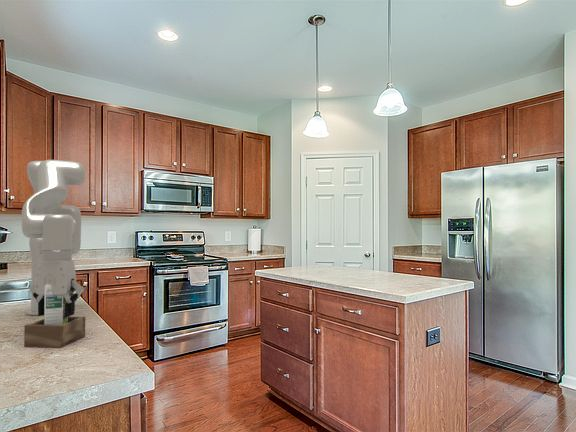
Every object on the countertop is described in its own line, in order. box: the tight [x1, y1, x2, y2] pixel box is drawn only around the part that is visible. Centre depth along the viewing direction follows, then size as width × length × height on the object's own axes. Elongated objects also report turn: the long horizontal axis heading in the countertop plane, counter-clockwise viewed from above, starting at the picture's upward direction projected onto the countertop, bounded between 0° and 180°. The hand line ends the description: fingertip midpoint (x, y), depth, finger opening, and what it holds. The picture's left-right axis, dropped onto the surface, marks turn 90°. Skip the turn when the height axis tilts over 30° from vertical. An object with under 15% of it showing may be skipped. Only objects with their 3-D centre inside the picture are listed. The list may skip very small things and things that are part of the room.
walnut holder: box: [23, 315, 86, 349], centre depth 109 cm, size 11×11×6 cm
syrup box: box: [43, 285, 68, 325], centre depth 110 cm, size 6×6×14 cm
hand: (56, 314), depth 110 cm, fingers closed on syrup box, 7 cm apart
